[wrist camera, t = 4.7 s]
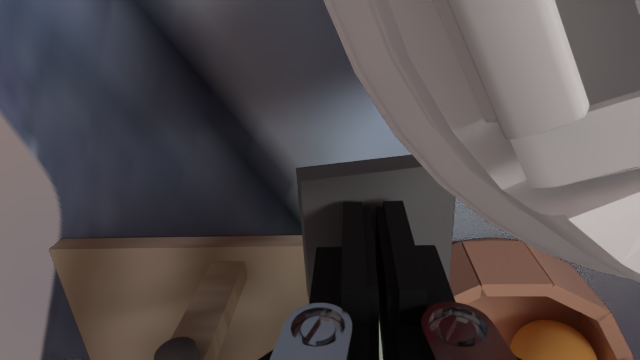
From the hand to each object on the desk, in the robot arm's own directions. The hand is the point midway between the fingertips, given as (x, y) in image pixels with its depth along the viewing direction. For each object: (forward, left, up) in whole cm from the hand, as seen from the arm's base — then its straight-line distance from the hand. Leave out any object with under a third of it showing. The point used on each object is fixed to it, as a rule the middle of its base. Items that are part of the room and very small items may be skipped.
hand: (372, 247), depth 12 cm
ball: (-8, +9, -5) cm, 13 cm away
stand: (+8, +9, -7) cm, 14 cm away
